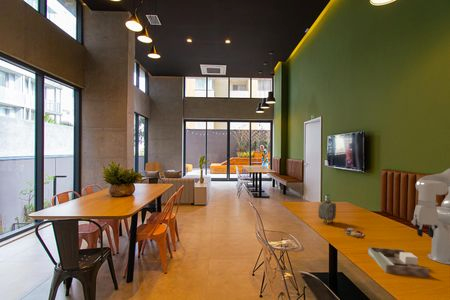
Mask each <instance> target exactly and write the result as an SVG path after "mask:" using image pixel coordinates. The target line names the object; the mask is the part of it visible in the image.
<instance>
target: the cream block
mask: <svg viewBox="0 0 450 300" xmlns="http://www.w3.org/2000/svg"><path fill="white" fill-rule="evenodd" d="M399 259H400V260H401V261H403V262H404V263H405V264H413V265H417V264H418V259H419V258H418V257H417V256H416V255H414V254H413V253H412V252H405V251H404V252H400V258H399Z"/></svg>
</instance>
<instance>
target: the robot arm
mask: <svg viewBox="0 0 450 300" xmlns="http://www.w3.org/2000/svg"><path fill="white" fill-rule="evenodd" d="M415 189H416V191H418V196H417V197H418V199H417V204H416V205H415V208H414V212H413V219H412V220H411V221H410V223H411V224H413V226H414V227H415V228H416V229H417V230H416V234H417V236H419V237H421V238H423V234H424V232H423V231H424V230H423V229H422V228H423V225H426V226H428V227H429V228H428V229H427V230H428V231H427V234H428V235H427V236H428V237H429V238H431V252H430V253H428V254H427V257H428V259H430V260H432V261H434V262H438V263H440V264H444V265H450V167H449V168H447V169H445V171H443V172H441V173H435V174H429V175H424V176H422V177H420V178H419V179H418V180H417V181H416V183H415ZM446 194H447V195H446ZM437 195H438V196H443V195H446V196H445V198H444V199H443V200H442V202H441V203H440V206H438V205H439V202H437Z"/></svg>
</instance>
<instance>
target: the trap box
mask: <svg viewBox="0 0 450 300" xmlns="http://www.w3.org/2000/svg"><path fill="white" fill-rule="evenodd" d="M400 252H405V250H404V249H398V248H397V249H394V248H384V247H374V246H371V247H370V246H368V247H367V255H369V256H370V257H371V259H373V261H375V263H377V265H378V266H379V267H380V268H381V269H382V270H383V271H384V272H385V273H386V274H396V275H405V276H413V277H414V276H416V277H423V278H430V269H429V268H426V267H421V266H420V265H419V264H418V263H417V265H413V264H405V263H404V262H403V261H401V260H400V259H399V258H400Z"/></svg>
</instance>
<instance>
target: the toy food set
mask: <svg viewBox="0 0 450 300" xmlns="http://www.w3.org/2000/svg"><path fill="white" fill-rule="evenodd" d="M343 231H344V233H345V234H346V236H350V237H353V238H362V237H363V236H364V235H365V234H364V232H363V231H362V230H359V229H357V228H354V227H348V228H346V229H343Z"/></svg>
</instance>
